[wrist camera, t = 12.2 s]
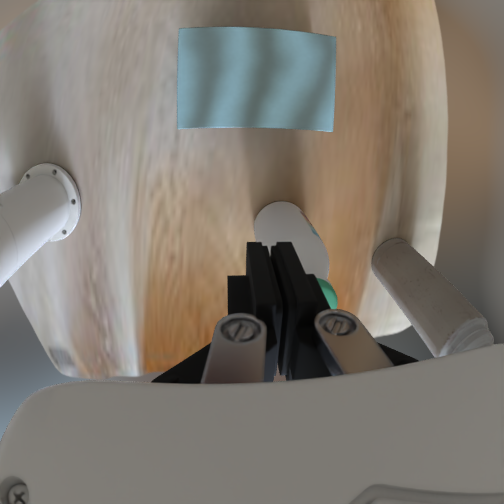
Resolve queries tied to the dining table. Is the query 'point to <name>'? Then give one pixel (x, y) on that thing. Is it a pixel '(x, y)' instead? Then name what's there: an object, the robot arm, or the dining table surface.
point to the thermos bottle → (429, 300)
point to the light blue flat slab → (255, 78)
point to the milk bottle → (296, 241)
